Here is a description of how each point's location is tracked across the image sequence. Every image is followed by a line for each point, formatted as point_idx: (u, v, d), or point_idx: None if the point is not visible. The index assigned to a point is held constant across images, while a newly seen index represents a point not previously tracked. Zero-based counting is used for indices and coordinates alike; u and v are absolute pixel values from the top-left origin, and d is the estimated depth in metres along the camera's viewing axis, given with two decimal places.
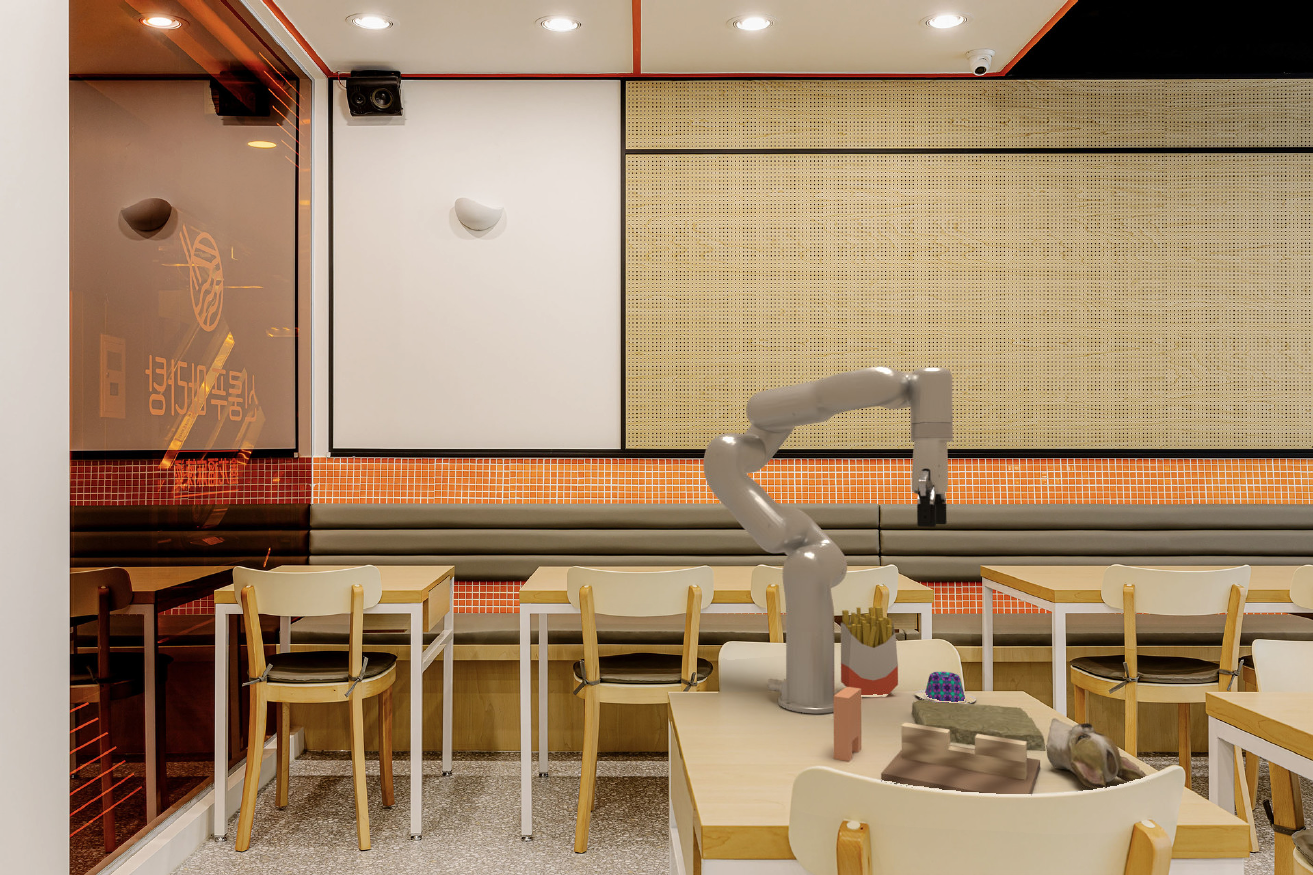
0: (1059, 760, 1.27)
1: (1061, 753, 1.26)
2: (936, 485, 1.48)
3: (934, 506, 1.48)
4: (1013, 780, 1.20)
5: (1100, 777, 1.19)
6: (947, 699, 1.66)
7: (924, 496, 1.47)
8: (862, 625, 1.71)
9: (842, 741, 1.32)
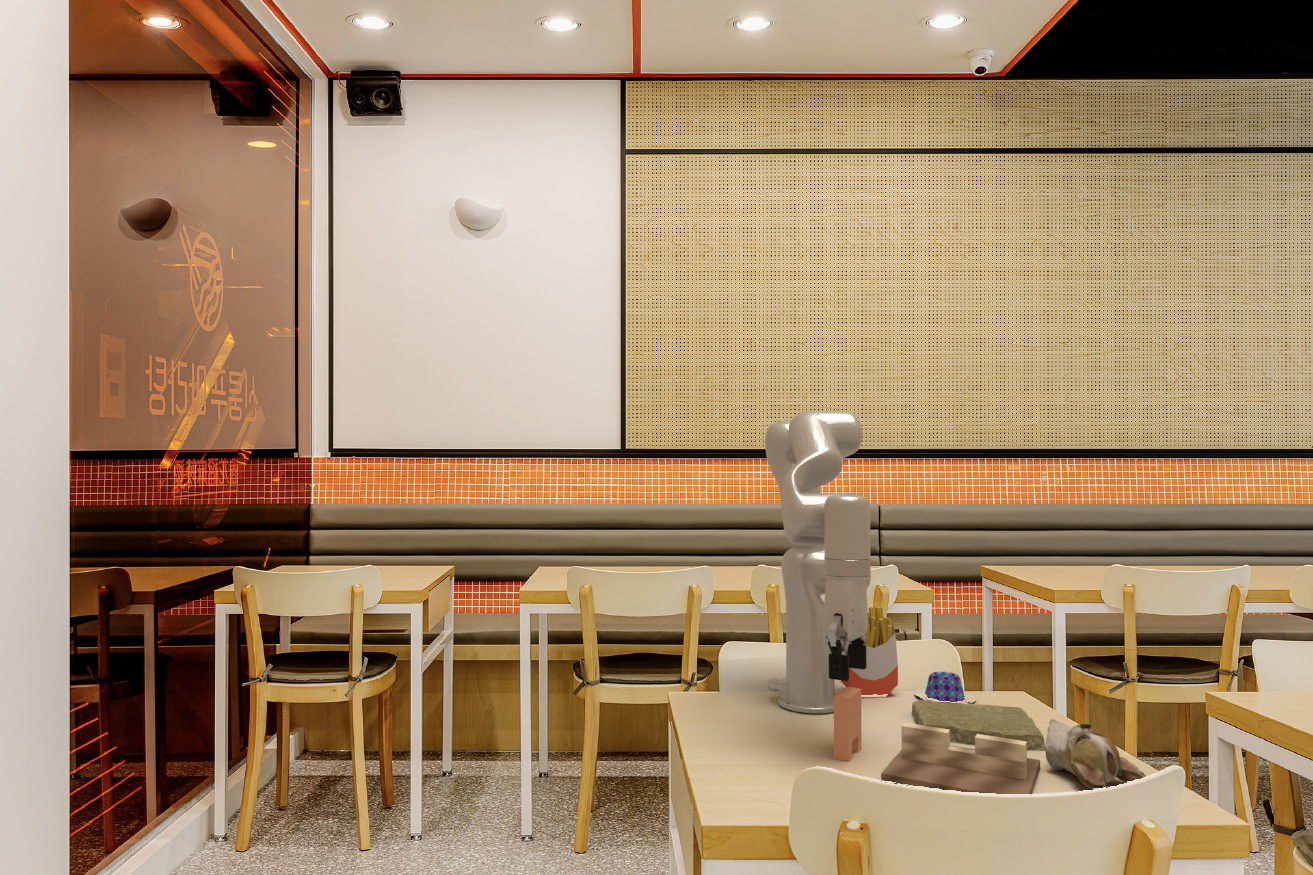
0: (1058, 761, 1.26)
1: (1061, 755, 1.25)
2: (849, 633, 1.31)
3: (847, 657, 1.31)
4: (1013, 780, 1.20)
5: (1101, 778, 1.18)
6: (947, 699, 1.66)
7: (835, 647, 1.30)
8: None
9: (842, 741, 1.32)
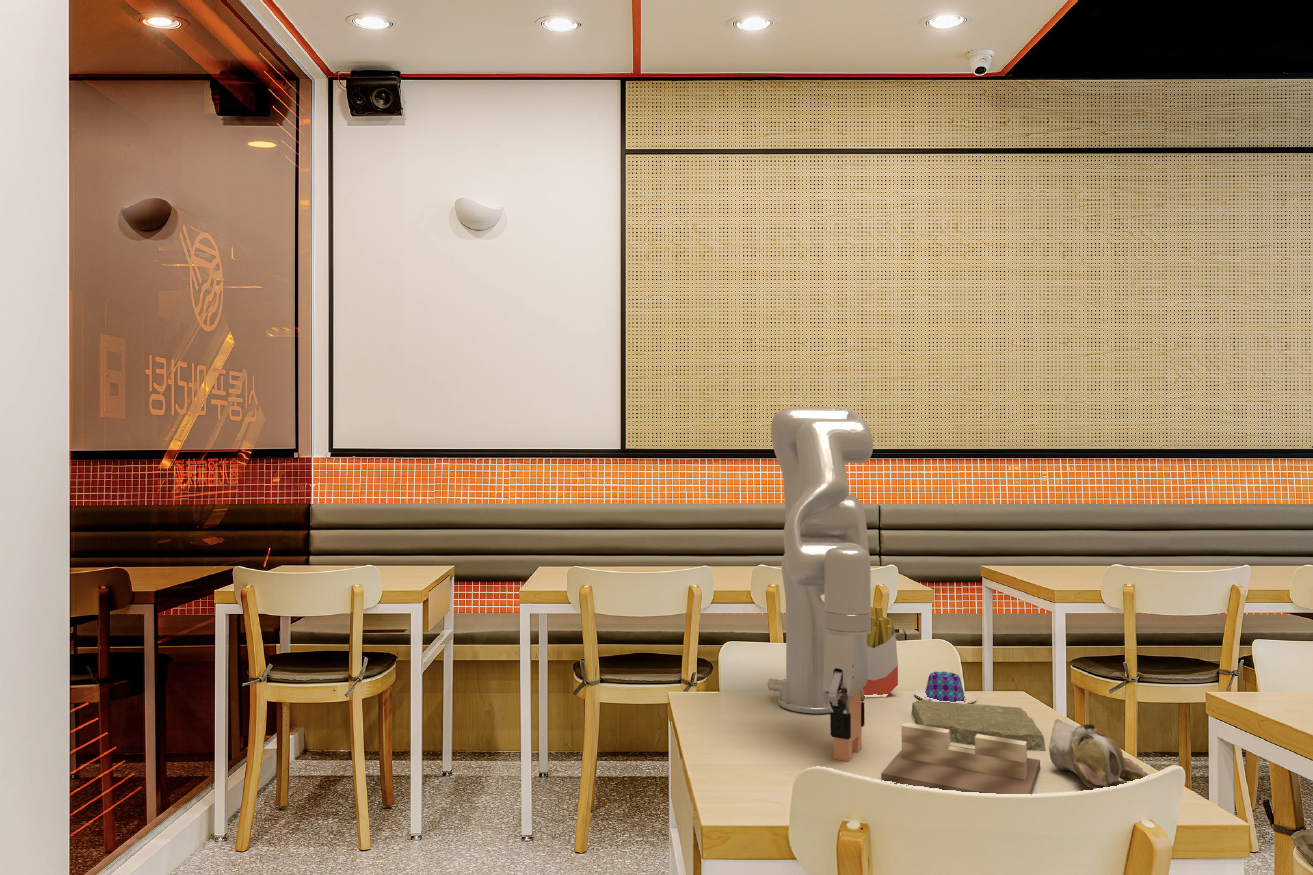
0: (1062, 761, 1.26)
1: (1064, 754, 1.25)
2: (849, 688, 1.31)
3: (849, 715, 1.31)
4: (1013, 780, 1.20)
5: (1102, 778, 1.18)
6: (945, 699, 1.66)
7: (837, 706, 1.30)
8: None
9: (842, 741, 1.32)
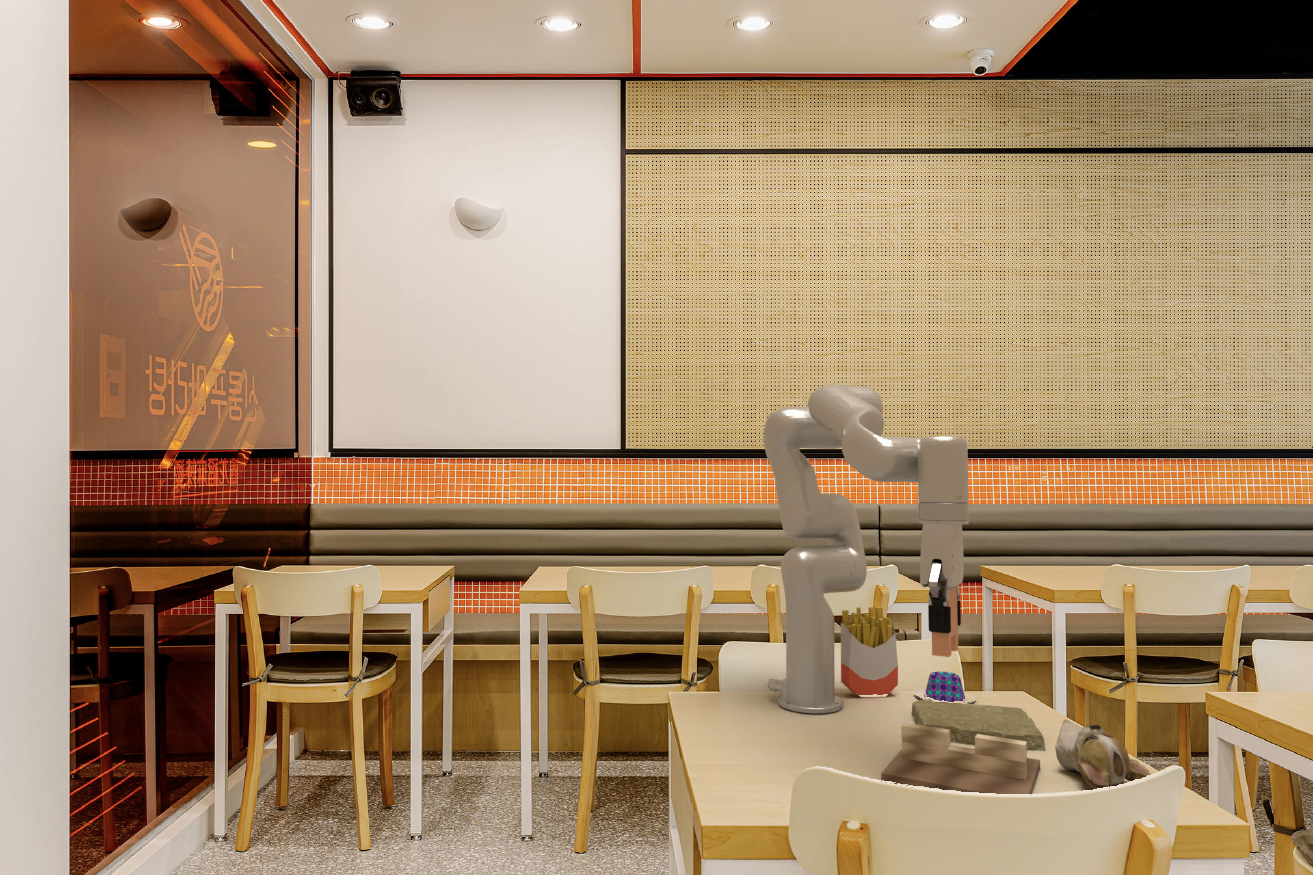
0: (1068, 761, 1.26)
1: (1069, 755, 1.25)
2: (949, 579, 1.24)
3: (949, 608, 1.24)
4: (1013, 780, 1.20)
5: (1105, 779, 1.18)
6: (943, 699, 1.67)
7: (937, 597, 1.23)
8: (862, 625, 1.71)
9: (941, 636, 1.25)
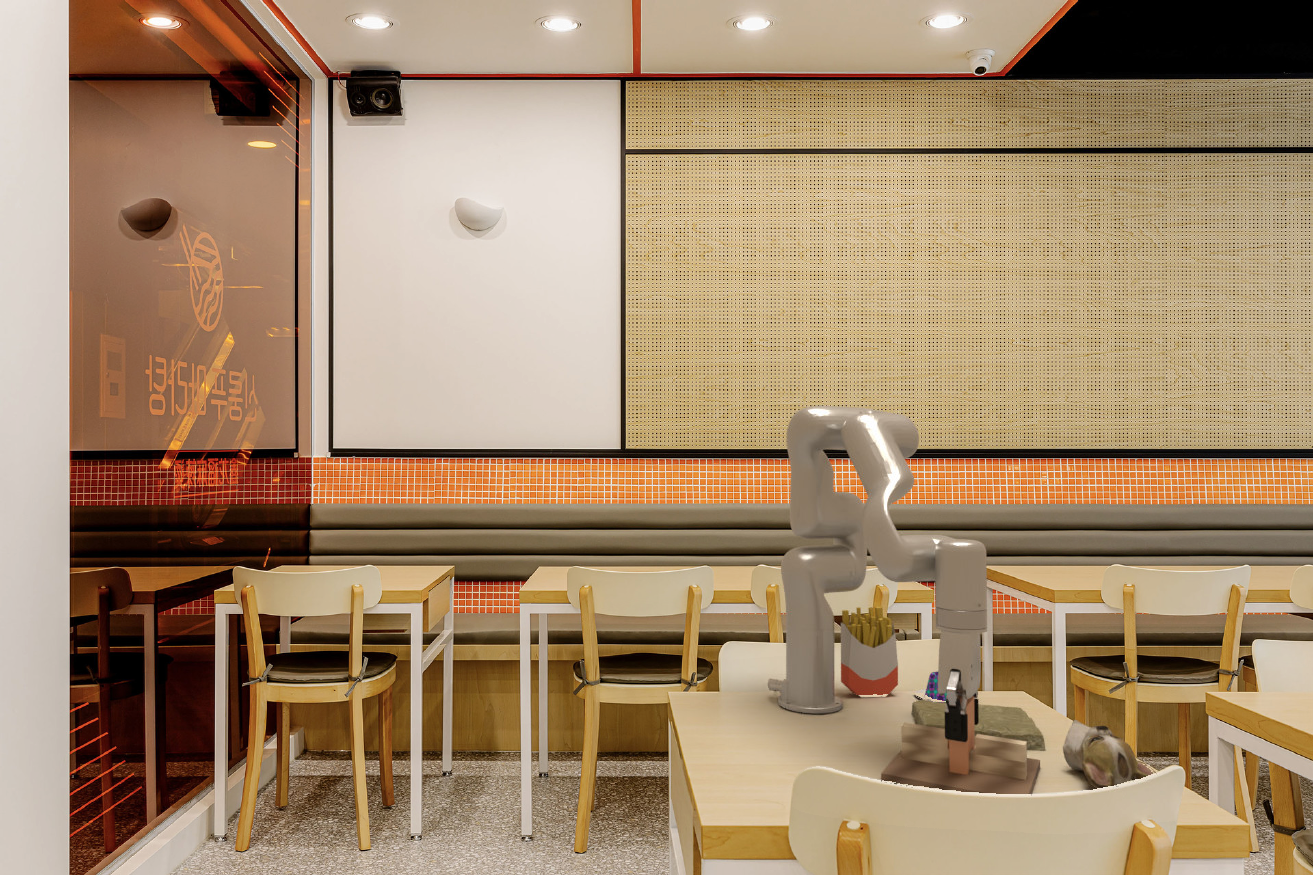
0: (1075, 761, 1.26)
1: (1076, 755, 1.25)
2: (968, 690, 1.22)
3: (966, 716, 1.22)
4: (1013, 780, 1.20)
5: (1108, 779, 1.18)
6: (940, 698, 1.67)
7: (954, 706, 1.20)
8: (862, 625, 1.71)
9: (959, 753, 1.23)
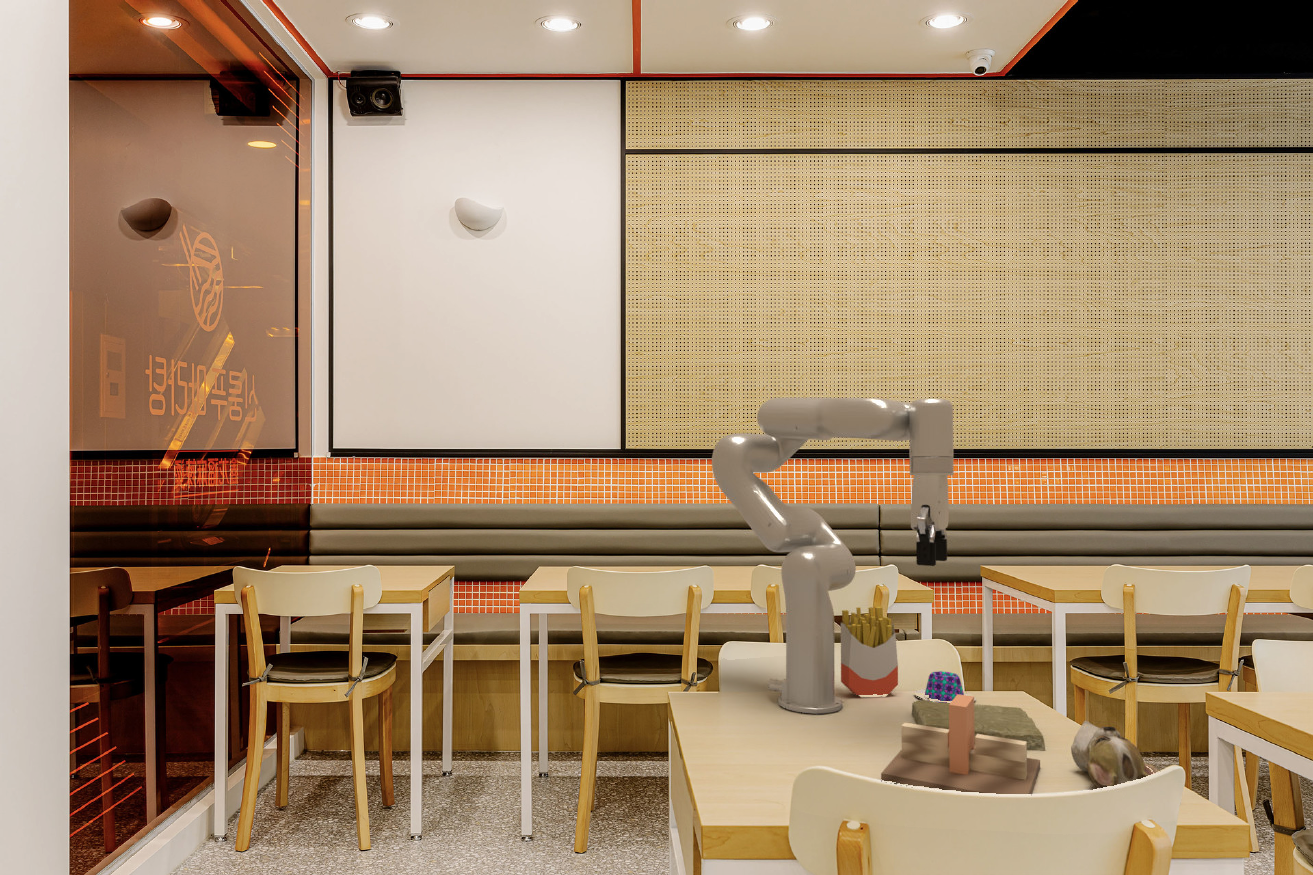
0: (1083, 762, 1.26)
1: (1082, 755, 1.25)
2: (936, 522, 1.42)
3: (934, 544, 1.42)
4: (1013, 780, 1.20)
5: (1111, 780, 1.18)
6: (938, 698, 1.67)
7: (923, 534, 1.41)
8: (862, 625, 1.71)
9: (959, 753, 1.23)
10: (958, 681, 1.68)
